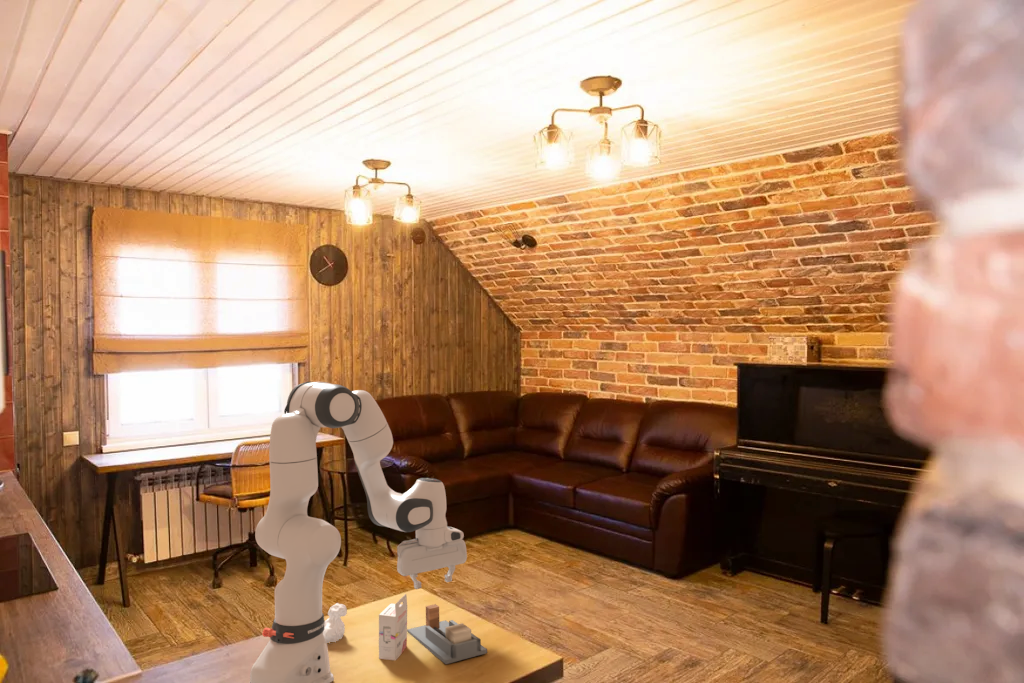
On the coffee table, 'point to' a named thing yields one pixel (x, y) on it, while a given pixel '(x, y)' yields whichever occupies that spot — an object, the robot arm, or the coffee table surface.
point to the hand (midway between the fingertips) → (433, 584)
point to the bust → (334, 623)
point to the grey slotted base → (447, 643)
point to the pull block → (452, 632)
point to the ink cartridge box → (393, 630)
